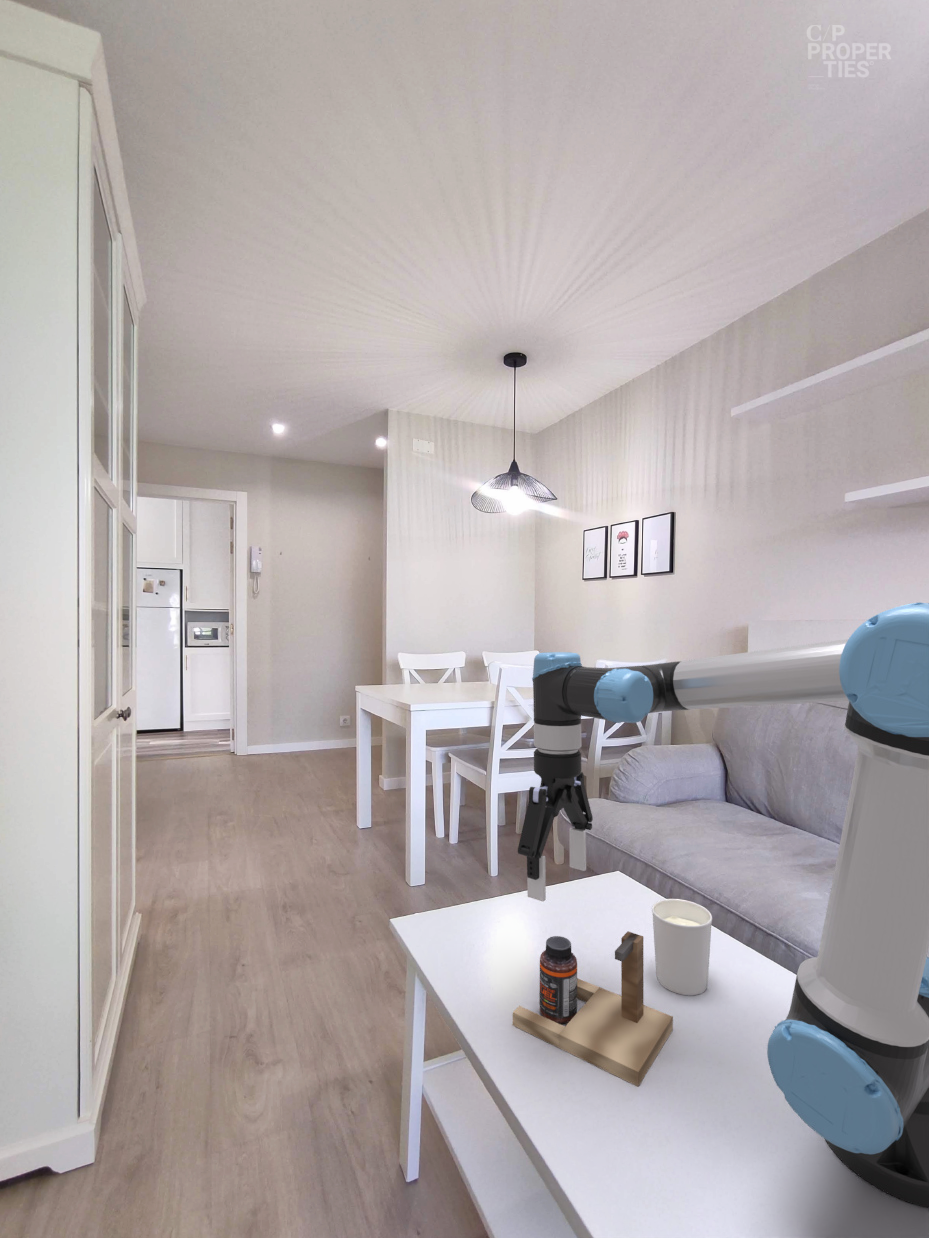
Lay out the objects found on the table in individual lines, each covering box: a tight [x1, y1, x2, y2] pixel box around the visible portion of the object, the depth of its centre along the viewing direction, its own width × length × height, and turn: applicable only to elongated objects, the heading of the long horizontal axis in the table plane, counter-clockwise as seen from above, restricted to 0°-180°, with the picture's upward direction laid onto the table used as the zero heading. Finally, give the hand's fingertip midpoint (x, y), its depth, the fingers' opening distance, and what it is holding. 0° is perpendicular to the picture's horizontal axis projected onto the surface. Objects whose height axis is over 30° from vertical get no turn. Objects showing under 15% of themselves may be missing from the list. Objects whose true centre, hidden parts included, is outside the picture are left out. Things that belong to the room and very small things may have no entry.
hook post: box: [614, 931, 644, 1023], centre depth 90 cm, size 2×6×12 cm, turn 143°
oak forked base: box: [512, 977, 674, 1087], centre depth 92 cm, size 20×14×2 cm
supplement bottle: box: [538, 935, 578, 1024], centre depth 95 cm, size 6×6×11 cm
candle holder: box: [651, 898, 713, 996], centre depth 104 cm, size 10×10×12 cm
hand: (558, 882), depth 95 cm, fingers open, 13 cm apart
